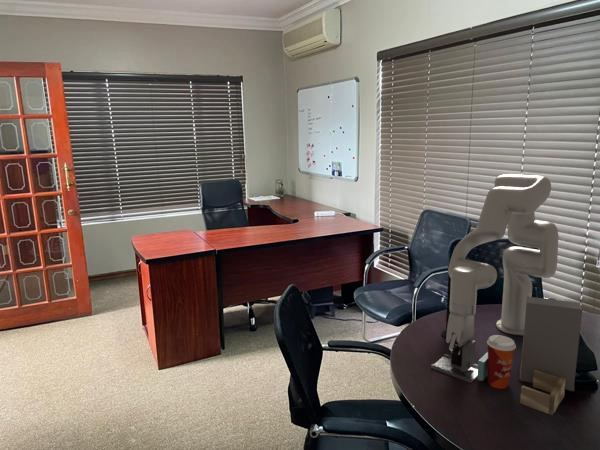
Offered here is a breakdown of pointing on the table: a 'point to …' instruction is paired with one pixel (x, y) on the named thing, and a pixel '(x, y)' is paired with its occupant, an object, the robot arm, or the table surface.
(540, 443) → the table surface
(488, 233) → the robot arm
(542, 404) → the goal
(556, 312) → the cassette tape recorder
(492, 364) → the paper cup
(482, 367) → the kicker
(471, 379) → the track
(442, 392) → the table surface
